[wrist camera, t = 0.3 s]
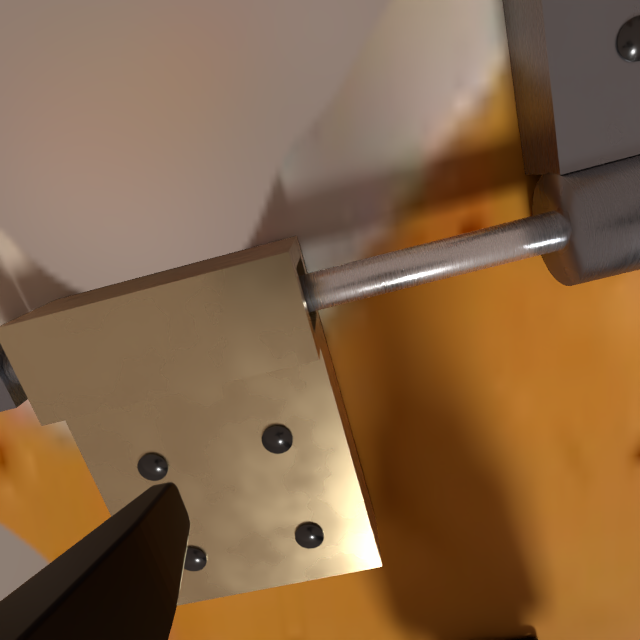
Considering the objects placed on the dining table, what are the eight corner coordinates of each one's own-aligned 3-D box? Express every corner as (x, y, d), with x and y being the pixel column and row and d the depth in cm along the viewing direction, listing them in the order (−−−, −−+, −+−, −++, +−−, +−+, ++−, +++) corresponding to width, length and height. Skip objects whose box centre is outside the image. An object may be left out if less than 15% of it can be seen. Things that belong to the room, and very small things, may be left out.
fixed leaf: (813, 204, 21) (949, 214, 16) (43, 392, 24) (-24, 444, 20) (836, -279, 16) (1041, -461, 11) (-126, 46, 20) (-265, 9, 15)
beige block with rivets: (376, 522, 26) (385, 590, 22) (174, 563, 27) (146, 635, 23) (296, 235, 21) (288, 251, 17) (56, 299, 22) (-7, 329, 18)
